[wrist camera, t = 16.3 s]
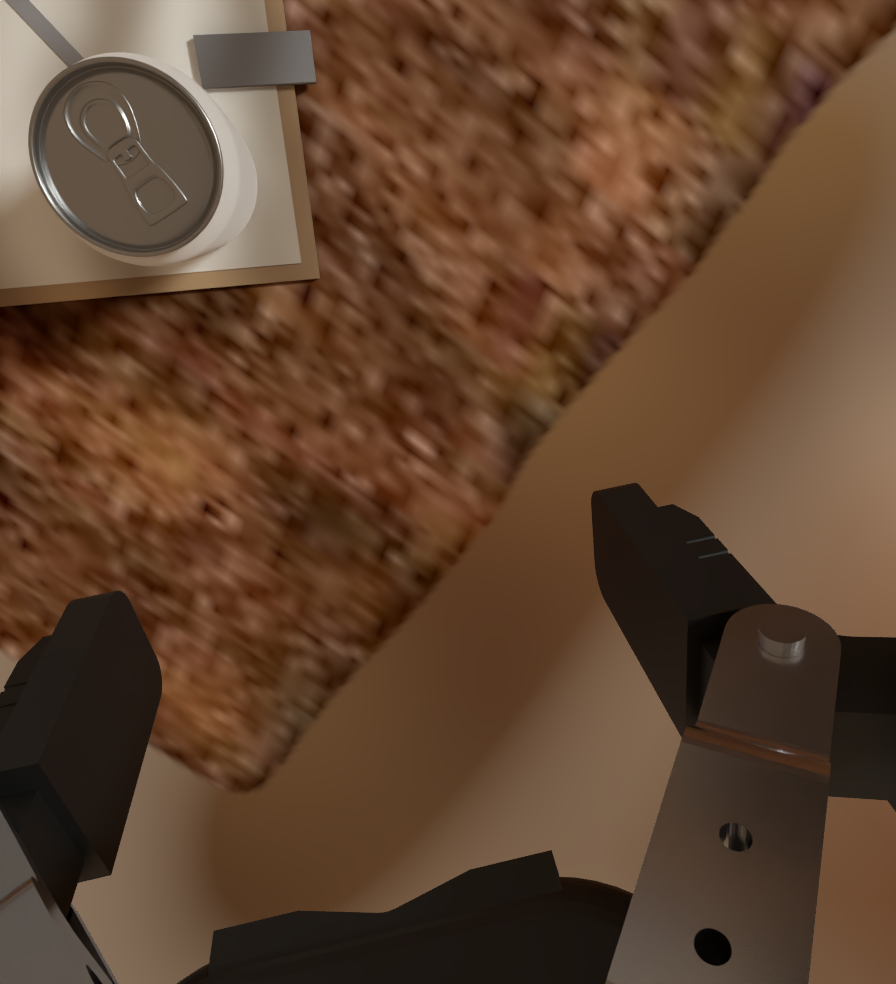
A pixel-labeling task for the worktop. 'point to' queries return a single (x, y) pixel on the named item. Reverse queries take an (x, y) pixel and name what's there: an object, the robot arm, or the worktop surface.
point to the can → (140, 160)
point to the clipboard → (230, 83)
